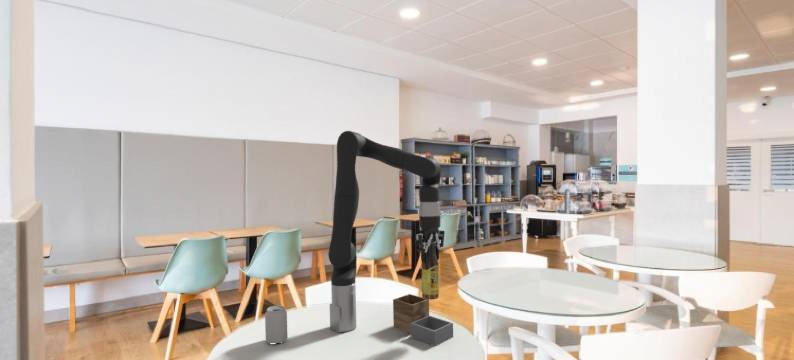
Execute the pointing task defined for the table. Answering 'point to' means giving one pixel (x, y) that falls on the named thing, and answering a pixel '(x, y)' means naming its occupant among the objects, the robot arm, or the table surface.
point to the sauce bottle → (430, 274)
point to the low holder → (432, 330)
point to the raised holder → (409, 311)
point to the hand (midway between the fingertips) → (430, 261)
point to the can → (276, 324)
